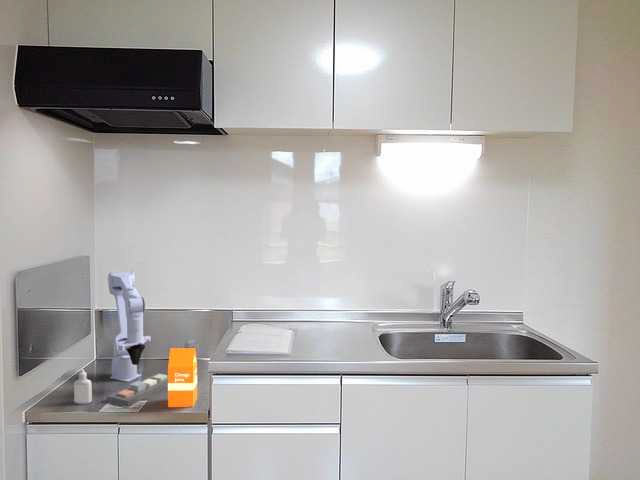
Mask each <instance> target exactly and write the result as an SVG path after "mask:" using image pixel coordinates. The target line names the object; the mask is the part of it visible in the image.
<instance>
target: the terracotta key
mask: <svg viewBox="0 0 640 480" xmlns="http://www.w3.org/2000/svg"><path fill="white" fill-rule="evenodd" d="M133 394H134V391H131V390H127V389H125V390H123V391H121V392H119V393H117V396H119V397H123V398H127V397H129V396H131V395H133Z"/></svg>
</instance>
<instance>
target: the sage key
mask: <svg viewBox="0 0 640 480" xmlns="http://www.w3.org/2000/svg"><path fill="white" fill-rule="evenodd" d="M167 378H168V374H164V375H163V373H159V374H158V375H156V376H154V377H153V380H157V381H163V380H165V379H167Z"/></svg>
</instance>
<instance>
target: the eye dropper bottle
mask: <svg viewBox="0 0 640 480" xmlns="http://www.w3.org/2000/svg"><path fill="white" fill-rule="evenodd" d="M87 377H88V376H87V372H86V371H85V369H84V368H82V369H81V371H80V372H79V373H78V379H76V380H75V381H74V384H73V397H74V398H73V399H74V400H73V402H74V403H75V404H77V405H78V404H79V405H84V404H86V405H88V404H89V403H91V402H92V401H93V393H92V392H93V391H92V390H93V389H92V388H93V386H92V385H93V384H92V380H91V379H88V378H87Z"/></svg>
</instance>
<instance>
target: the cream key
mask: <svg viewBox="0 0 640 480" xmlns="http://www.w3.org/2000/svg"><path fill="white" fill-rule="evenodd" d="M143 382H145V383H146V386H149V387H150V386H152V385H154V384H156V383H157V380H153V379H147V380H145V381H143Z"/></svg>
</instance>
